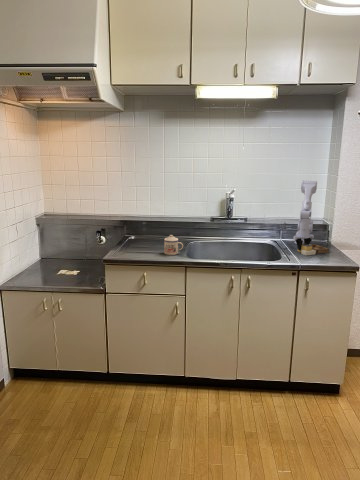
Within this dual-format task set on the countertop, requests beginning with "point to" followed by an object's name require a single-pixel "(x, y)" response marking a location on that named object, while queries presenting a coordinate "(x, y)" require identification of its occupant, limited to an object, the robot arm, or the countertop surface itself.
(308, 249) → the yellow rectangular block
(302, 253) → the bay
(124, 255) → the countertop surface
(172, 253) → the teacup with lid
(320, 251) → the tray
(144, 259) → the countertop surface
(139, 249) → the countertop surface
